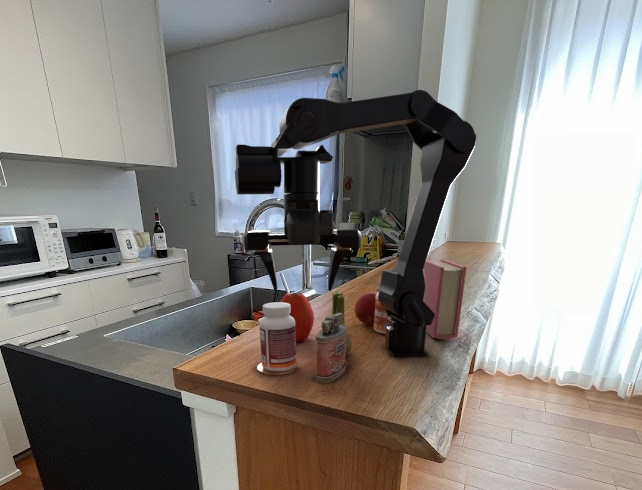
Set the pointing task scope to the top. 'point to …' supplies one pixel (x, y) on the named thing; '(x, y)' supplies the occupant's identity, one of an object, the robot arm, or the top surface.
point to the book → (444, 297)
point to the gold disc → (267, 372)
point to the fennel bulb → (339, 308)
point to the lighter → (331, 349)
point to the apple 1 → (300, 314)
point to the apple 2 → (366, 308)
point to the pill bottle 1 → (277, 337)
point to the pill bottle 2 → (380, 317)
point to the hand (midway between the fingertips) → (302, 291)
